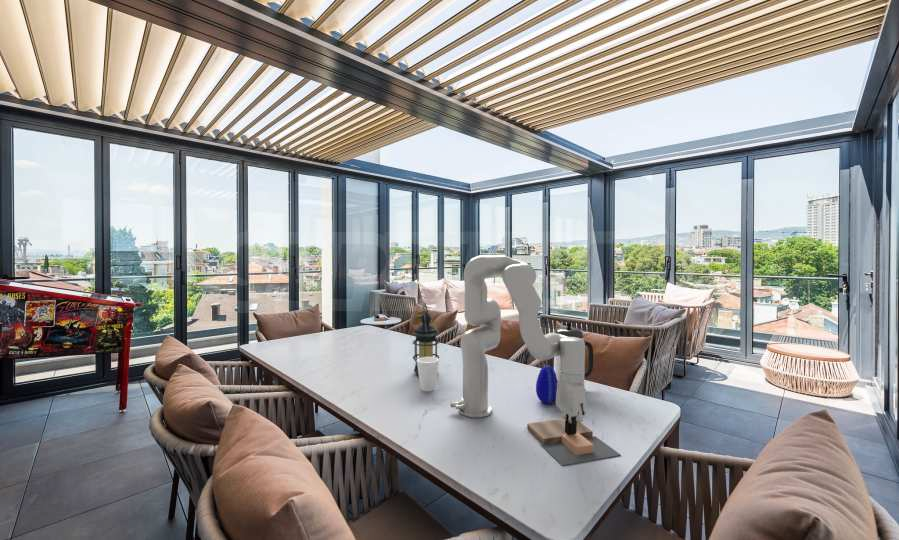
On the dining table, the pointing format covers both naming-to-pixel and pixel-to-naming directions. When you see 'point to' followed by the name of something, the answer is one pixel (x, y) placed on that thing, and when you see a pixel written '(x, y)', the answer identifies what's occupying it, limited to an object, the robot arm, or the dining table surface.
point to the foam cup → (427, 372)
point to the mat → (569, 457)
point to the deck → (554, 430)
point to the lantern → (425, 338)
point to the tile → (577, 443)
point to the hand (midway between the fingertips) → (570, 433)
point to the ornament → (547, 385)
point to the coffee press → (577, 333)
